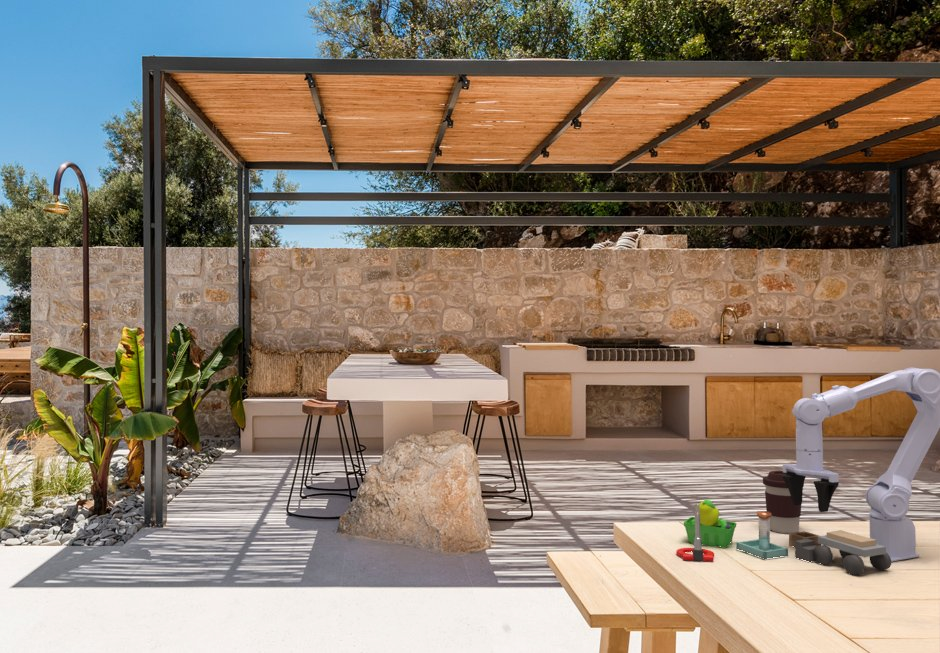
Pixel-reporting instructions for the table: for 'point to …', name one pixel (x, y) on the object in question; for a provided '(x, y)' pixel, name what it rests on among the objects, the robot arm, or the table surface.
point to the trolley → (851, 551)
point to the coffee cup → (780, 504)
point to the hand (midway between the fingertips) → (810, 508)
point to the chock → (804, 549)
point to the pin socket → (802, 537)
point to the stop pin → (764, 530)
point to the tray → (753, 548)
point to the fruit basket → (710, 526)
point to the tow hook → (696, 545)
